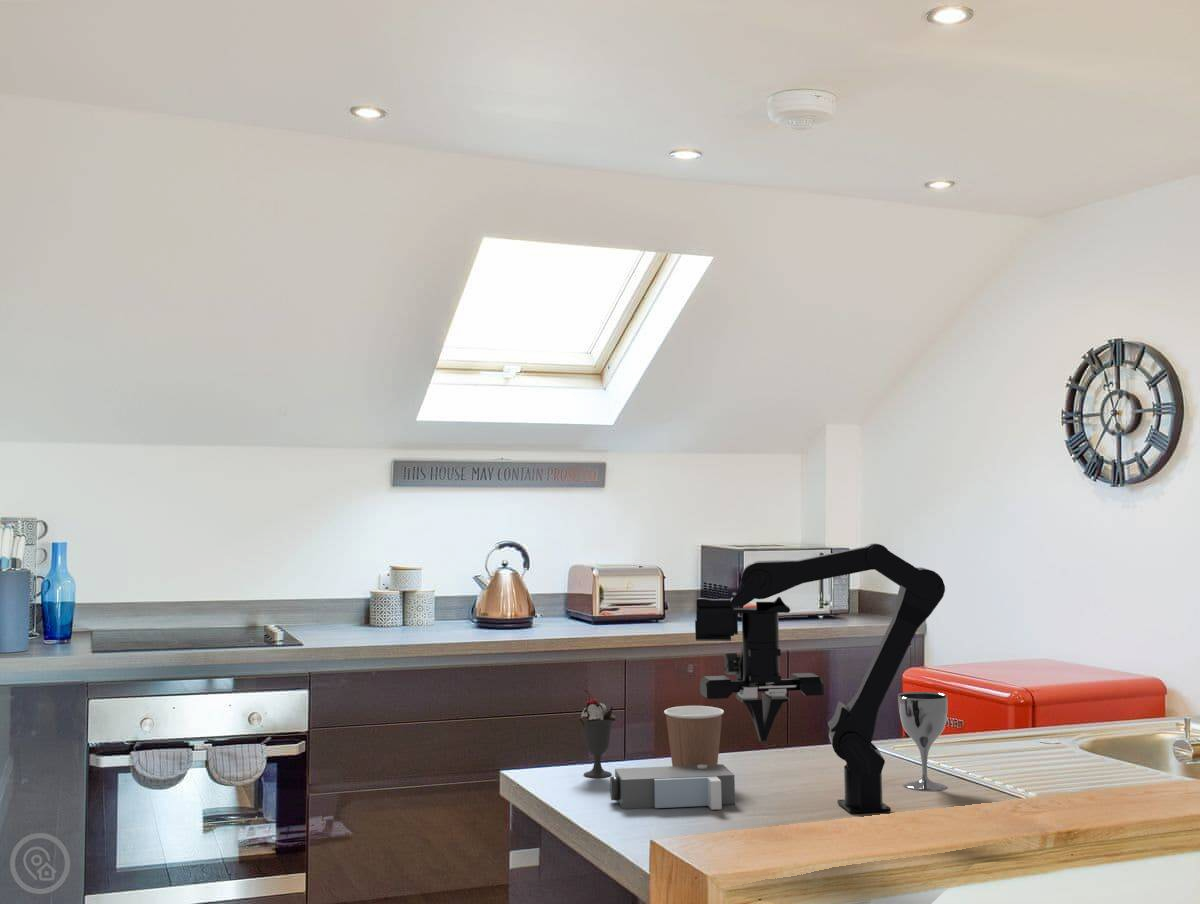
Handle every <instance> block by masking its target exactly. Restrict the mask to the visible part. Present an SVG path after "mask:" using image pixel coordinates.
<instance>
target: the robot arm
mask: <svg viewBox="0 0 1200 904" xmlns="http://www.w3.org/2000/svg"><path fill="white" fill-rule="evenodd" d="M871 570H872V571H873V570H875V571H876V572H878V573H880V575H882V576H884V577H886V578H887V579H889V580H890V581H891V582H893V583H894V584H896V585H898V586H899V589H898V591H897V592H898V593H897V597H896V600H895V605H894V609H893V610H894V611H893V615H892V619H891V621H890V623H889V625H888V627H887V629H886V631H885V633H884V636H883V637H882V639H881V640H880V641H881V642H880V644H879V646H878V647H877V650H876V652H875V654H874V656H873V658H872V660H871V662H870V665H869V666H868V668H867V671H866V672H865V675H864V677H863V679H862V680H861V682H860V685H859V687H858V689H857V691H856V693H855V695H854V696H853V698H852V699H851V700H849V702H848V703H847V704H844V703H843V702H841V701H837V706H836V708H835V712H834V714H833V716H832V718H831V719H830V720H829V721H828V722H827V725H828V728H829V731H828V738H829V741H830V744H831V747H832V749H833V751H834V753H835V754H836V755H837V756H838V758H840V760H842V761H844V762H845V764H846V765H844V766H843V773H844V775H843V776H844V777H843V778H844V782H843V783H844V799H837V804H838V805H840V806H841V807H842V808H844V809H845V810H847V812H849V813H851V814H852V813H853V814H856V813H857V814H858V813H873V812H874V813H878V812H879V813H880V812H891V810H892V809H891V808H892V807H890V806H889V805H887V804H886V803H884V801H883V769H884V766H885V763H886V761H885V758H884V757H883V755H882V753H881V752H880V750H879V748H877V746H876V745H874V743H873V741H872V740H873V737H874V734H875V729H876V725H877V720H878V719H877V718H878V714H879V711H880V710H879V709H880V708H881V705H882V703H883V701H884V699H885V697H886V694H887V692H888V691H889V688H890V687H891V685H892V683H893V681H894V678H895V676H896V674H897V672H898V670H899V667H900V666H901V663H902V662H903V659H904V657H905V655H906V653H907V651H908V649H909V648H910V644H912V641H913V639H914V636H915V635H916V633H917V630H919V628H920V626H921V625H922V624H924V622H925V621H926V620H927V619H928V618H929V617H930V616H931V614H933V612H934V610H935V609H936V608H937V606H938V605H939V603H940V602H941V600H942V599H943V597H944V595H945V592H946V586H945V583H944V580H943V578H942V577H941V575H940V574H938V573H937V572H936V571H934V570H931V569H928V568H924V567H915V566H914V565H913V564H911V563H909V562H908V561H906V560H905V559H903V558H901V557H899V556H898V555H896V554H894V553H893V552H891V551H890V550H888V548H887V547H886V546H884V545H883V544H880V543H869V544H867V545H865V546H861V547H856V548H851V549H845V550H842V551H841V550H840V551H836V552H831V553H826V554H823V555H817V556H811V557H807V558H802V559H801V558H800V559H797V560H796V559H795V560H789V559H788V560H755V561H753V562H749V563H748V564H747V565H746V566H744V569H743V571H742V573H741V577H740V578H741V579H740V580H741V583H740V585H739V586H738V588H737V589H736V591H734V592H732V596H731V597H730V598H718V599H717V598H706V597H698V598H697V599H696V610H695V611H696V615H695V616H696V617H695V619H694V626H695V627H694V628H695V629H694V630H695V632H694V634H695V642H731V641H732V637H735V635H739V632H738V631H739V629H738V627H739V624H738V623H739V622H738V614H741V632H742V633H741V634H742V636H741V637H742V638H741V640H742V641H741V642H742V645H741V649H740V652H741V653H740V656H738V653H736V652H732V653H730V652H729V653H725V654H724V656H723V657H724V658H723V659H724V660H723V662H724V665H723V667H724V673H725V675H705V676H704V675H703V677H702V678H701V679H700V682H699V691H700V693H699V694H700V695H702V696H703V697H705V699H709V700H718V699H720V700H721V699H729V698H730V696H732V694H733V693H736V694H735V698H736V699H737V700H738V701H740V702H741V703H743V704H744V705H745V707H747V711H748V713H749V714H750V717H751V720H752V723H753V726H754V728H755V732H756V734H757V737H758V740H759V742H761V743H762V742H763V743H764V742H765V743H766V741H767V739H768V737H769V735H770V733H771V729H772V727H773V723H774V722H775V719H776V717H777V715H778V712H780V709H781V707H782V705H783V704H784V703H788V702H789V700H790V699H789V697H788V696H787V693H788V692H789V691H790V692H791V691H800V692H801V693H802V694H803V695H804V696H805V697H807V696H809V697H810V696H823V695H825V683H824V680H823V679H822V678H821V676H819V675H816V674H815V673H812V672H798V673H793V672H792V673H790V677H789V678H782V675H781V674H780V657H781V654H782V653H781V648H780V644H779V643H780V639H779V638H780V636H779V634H780V632H779V631H780V630H779V627H780V625H779V614H783V613H784V614H787V613H790V612H791V608H790V606H788V605H787V604H786V603H785V602H784V601H783V599H782V598H781V596H778V597H776V599H775V600H774V601H756V602H755V606H756V607H744V606H746V605H747V604H749V603H751V602H752V601H753V600H754V599H756V600H764V599H768V598H770V597H772V596H776V595H778V594H780V593H782V592H786V591H787V590H790V589H793V588H794V587H797V586H800V585H803V584H806V583H812V582H816V581H821V580H826V579H831V578H836V577H842V576H846V575H851V574H855V573H861V572H867V571H871ZM726 675H735V676H736V680H732V679H730V678H729V677H728V676H726ZM760 692H761V697H759V693H760ZM762 692H763V693H762Z"/></svg>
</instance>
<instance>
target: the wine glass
mask: <svg viewBox="0 0 1200 904" xmlns="http://www.w3.org/2000/svg"><path fill="white" fill-rule="evenodd" d="M897 699H898V700H897V701H898V711H899V718H900V722H901V725H902V728H903V730H904V731H905V733H906V734H907V735H908V736H909V737H910V738H911V740H912V741H913V742H914V743H915V745H916V747H917V748H918V750H919V753H920V759H921V767H922V771H921V772H922V774H921V775H922V777H921V778H919V779H916V780H910V781H906V782H903V784H902V786H903V787H904V788H906V789H910V790H914V791H921V792H923V791H924V792H936V791H937V792H939V791H943V790H946V789H947V788H948V785H947V784H946V783H943V782H939V781H938V782H937V781H933V780H931V779H930V778H929V777H928V760H929V758H928V757H929V752H930V749H931V747H932V745H934V743H935V741H936V740H937V739H938V738H939V737H940V735H941V734H942V733H943V731H945V727H946V723H947V717H948V695H947V694H945V693H940V692H934V691H933V692H932V691H906V692H900V693H898V697H897Z"/></svg>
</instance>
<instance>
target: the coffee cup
mask: <svg viewBox="0 0 1200 904" xmlns="http://www.w3.org/2000/svg"><path fill="white" fill-rule="evenodd" d="M724 712H725V711H724V709H722V708H719V707H714V706H708V705H706V706H705V705H681V706H674V707H668V708H667V709H665V710H664V711H663V713H664V714H665V716H666V717H665V719H666V726H667V734H668V743H669V748H670V749H669V750H670V758H671V765H672V766H691V765H699V764H705V765H716V764H719V762H718V761H719V751H720V744H721V743H720V740H721V733H722V732H721V731H722V719H723V717H722V715H723V714H724Z"/></svg>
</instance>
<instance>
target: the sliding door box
mask: <svg viewBox="0 0 1200 904" xmlns="http://www.w3.org/2000/svg"><path fill="white" fill-rule="evenodd" d="M714 776H717V777H718V778H719V779H720V780H721V804H722V805H731V804H732V805H735V804H736V792H735V791H736V790H735V788H736V787H735V786H736V785H735V783H736V781H735V774H734V773H733V772H732V771H731V770H730V769H729V768H728V767H727V766H725V765H724V764H722V763H720V764H719V763H718V764H716V765H705V764H699V765H691V766H670V765H669V766H668V765H667V766H646V767H626V768H625V767H623V768H621V767H620V768H614V776H609V777H610V778H609V797H610V800H611V801H617V802H618V804H619V805H620V807H621V809H622V810H626V809H630V810H631V809H649V808H655V807H654V779H667V778H690V777H714Z"/></svg>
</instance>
